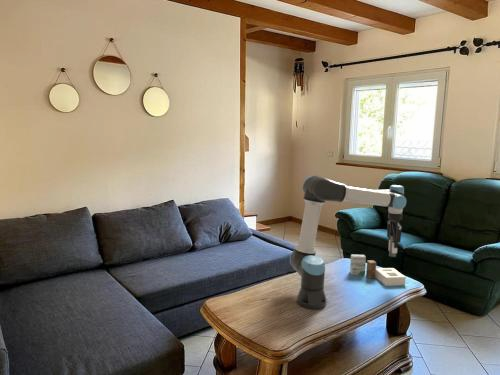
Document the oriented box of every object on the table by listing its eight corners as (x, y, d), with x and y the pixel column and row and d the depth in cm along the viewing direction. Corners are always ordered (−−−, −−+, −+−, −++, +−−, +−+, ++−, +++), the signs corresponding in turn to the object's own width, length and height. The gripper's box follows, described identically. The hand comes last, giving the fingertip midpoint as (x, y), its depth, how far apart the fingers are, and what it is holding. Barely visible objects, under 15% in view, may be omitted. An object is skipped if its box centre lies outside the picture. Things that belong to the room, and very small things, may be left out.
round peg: (390, 257, 209) (392, 237, 207) (387, 254, 213) (389, 235, 211) (396, 256, 209) (398, 236, 207) (393, 254, 213) (395, 235, 211)
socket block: (385, 285, 210) (386, 277, 210) (374, 276, 224) (375, 268, 223) (404, 285, 212) (405, 276, 211) (392, 275, 226) (393, 267, 225)
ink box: (363, 272, 230) (364, 254, 228) (365, 275, 225) (366, 257, 223) (349, 271, 231) (350, 253, 229) (350, 274, 226) (352, 256, 224)
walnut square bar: (368, 278, 221) (370, 262, 219) (366, 275, 225) (367, 260, 223) (375, 278, 221) (376, 262, 220) (372, 275, 225) (373, 260, 223)
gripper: (409, 215, 199) (406, 256, 203) (394, 209, 215) (391, 247, 219) (396, 215, 198) (393, 256, 202) (382, 209, 215) (379, 247, 218)
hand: (392, 251), depth 211 cm, fingers closed on round peg, 3 cm apart
